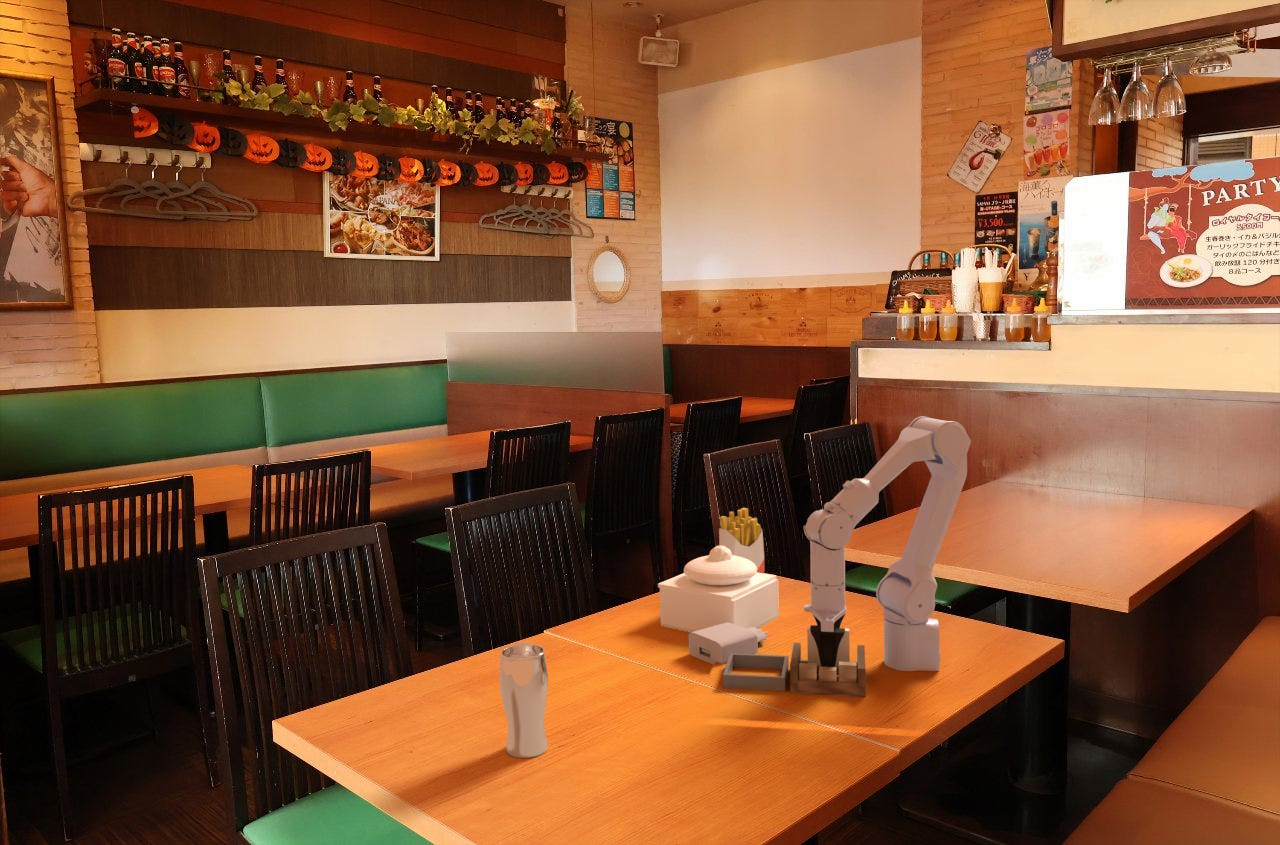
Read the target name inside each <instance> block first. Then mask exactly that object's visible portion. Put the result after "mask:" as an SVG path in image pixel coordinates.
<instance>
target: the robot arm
mask: <svg viewBox="0 0 1280 845" xmlns="http://www.w3.org/2000/svg"><path fill="white" fill-rule="evenodd" d="M971 443H972V440H971V439H970V436H969V435H968V433H967V430H966V429H965V427H964V426H963V425H962V424H961V423H959V422H957V421H954V420H953V421H952V420H950V421H949V420H948V421H947V420H943V419H937V418H931V417H929V416H925V415H922V416H918V417H916V418H914V419H913V420H912V421H911V422H910V423H909V424H908V426H906V427H905V428H903V429H902V430H901V432H900V434H899V437H898V438H897V440H896V441H895V443H894V444H893V445H892V446H891V447H890V448H889V449H888V451H886V452H885V454H883V456H882V457H881V458H880V459H879V461H878V462H877V463H876V464H875V465H874V466H873V467H872V468H871V470H869V472H868V473H867V474H866V475H865V476H864V477H863V478H853V479H852V480H846V481H845V483H843V484H842V488H843V489H842V490H840V491H839V492H838V493H837V495H835V496H834V498H833V499H831V500H830V501H829V502H828V501H827V502H826V503H824V505H823V509H819V510H815V511H813V512H812V513H811V514H810V515H809V517H808V518H807V521H806V524H805V525H803V532H804V535H805V536H806V538H807V539H808V540H809V542H810V543H809V546H810V547H809V548H810V549H809V550H810V604H804V605H803V611H804V612H807V613H811V614H812V615H813V618H814V620H815V622H816V625H814V624H811V625H810V626H809V627H810V631H811V634H812V636H813V638H814V640H815V642H816V645H817V648H818V653H819V659H820V663H821V667H835V664H836V658H837V652H838V647H839V644H840V641H841V639H842V637H843V635H844V633H845V629H846V628H844V627H843V628H841V624H842V622H843V619H844V618H845V615H846V613H847V606H846V552H845V551H846V550H845V549H846V548H845V547H846V546H845V545H848V544H849V542H850V541H851V539H852V535H853V531H854V529H855V527H856V526H857V525H858V524H859V523H860V522H861V521H862V520H863V518H865V516H866V515H868V513H869V512H871V511H872V509H874V508H875V506H877V504H879V500H880V498H879V497H880V496H879V494H880V492H881V491H882V490H883V489H884V488H885V487H887V486H888V485H889V484H890V483H891V482H893V480H895V479H896V478H897V477H898V476H899V475H900V474H901V473H902V472H903V471H904V470H906V469H907V468H908V467H909V466H910V465H912V464H913V463H915V462H924V463H925V465H926V467H927V468H928V470H929V472H930V475H931V477H930V480H929V482H928V486H927V488H926V490H925V493H924V496H923V499H922V501H921V503H920V504H921V505H920V507H919V510H918V513H917V515H916V517H915V519H914V520H915V521H914V523H913V525H912V528H911V531H910V534H909V536H908V540H907V542H906V545H905V548H904V550H903V553H902V556H901V558H900V559H898V560H897V561H895V562H894V563H893V564H891V565H889V568H888V570H887V572H886V574H885V576H884V577H883V578H882V579H881V580H880V581H879V583H878V584H877V586H876V590H875V592H876V593H875V594H876V595H875V596H876V599H877V602H878V603H879V605H880V606H881V607H882V613H883V663H884V665H885V666H886V667H888V668H890V669H894V670H897V671H904V672H913V671H915V672H916V671H926V672H927V671H928V672H930V671H931V672H940V662H941V650H940V649H941V648H940V644H941V642H940V625H939V624H940V623H939V620H938V619H937V618H931V617H932V615H933V613H934V611H935V607H936V598H935V597H936V596H935V595H936V592H937V589H938V583H937V581H936V578H935V575H934V573H933V569H934V566H935V564H936V561H937V558H938V555H939V553H940V549H941V548H942V544H943V541H944V539H945V536H946V533H947V531H948V528H949V525H950V523H951V521H952V517H953V515H954V512H955V509H956V507H957V504H958V502H959V498H960V496H961V493H962V490H963V487H964V484H965V482H966V480H967V475H968V455H967V454H968V451H969V449H970V446H971Z"/></svg>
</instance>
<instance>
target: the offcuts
mask: <svg viewBox="0 0 1280 845" xmlns="http://www.w3.org/2000/svg"><path fill="white" fill-rule="evenodd" d="M856 662H857V661H850V662H839V682H857V666H856ZM799 680H817V663H799ZM819 681H837V667H819Z"/></svg>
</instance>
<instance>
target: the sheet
mask: <svg viewBox="0 0 1280 845" xmlns="http://www.w3.org/2000/svg"><path fill="white" fill-rule="evenodd" d="M806 630H807V632H806V634H807V636H806V637H807V638H806V640H807V642H806V643H807V644H806V645H807V660H808V663H817V666H821V663H820V659H819V653H818V648H817V645H816V642H815V640H814V638H813V636H812V634H811V631H810V626H807V629H806ZM850 647H851V646H850V628H845V633H844V635H843V637H842V639H841V641H840V644H839V647H838V652H837V658H836V664H835V666H837V667H839V662H851V661H850V660H851V659H850V655H851V654H850V650H851V649H850Z"/></svg>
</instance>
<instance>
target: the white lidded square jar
mask: <svg viewBox="0 0 1280 845" xmlns="http://www.w3.org/2000/svg"><path fill="white" fill-rule="evenodd" d="M657 588H658V589H659V608H660V610H659V613H660V614H659V615H660V617H659V618H660V626H661V627H663V626H664V627H665V628H669V629H673V630H677V629H678V630H677V631H682V630H683V631H682V632H687V631H688V632H687V633H691V632H695V631H698V630H702V629H705V628H708V627H712V626H715V625H719V624H722V623H726V622H729V623H732V624H735V625H737V626H740V627H743V628H746V629H747V628H750V627H754V628H757V629H761V626H762V627H763V626H766V625H767V624H769V623H771V622H772V620H773V621H774V620H776V619H778V618H779V616H780V606H779V605H780V603H779V600H780V597H779V596H780V595H779V590H780V589H779V588H780V587H779V579H778V578H777V575H775V574H768V573H765V574H763V573H757V567H756V565H755V564H754V563H753V562H751V561H750V560H748V559H746V558H742V557H739V556H734V555H732V553H731V551H730V550H729V549H728V548H727V547H725V546H721V545H720V546H719V545H716V546H715V547H713V548H712V549H711V550H710V551H709V554H708V555H704V556H699V557H697V558H695V559H692V560H690V561H689V562H687V563H686V564H685V565H684V568H683V573H681V574H678V575H676V576H674V577H672V578H669V579H666V580H664V581H661V582H659V583H657ZM664 627H663V628H664Z"/></svg>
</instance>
